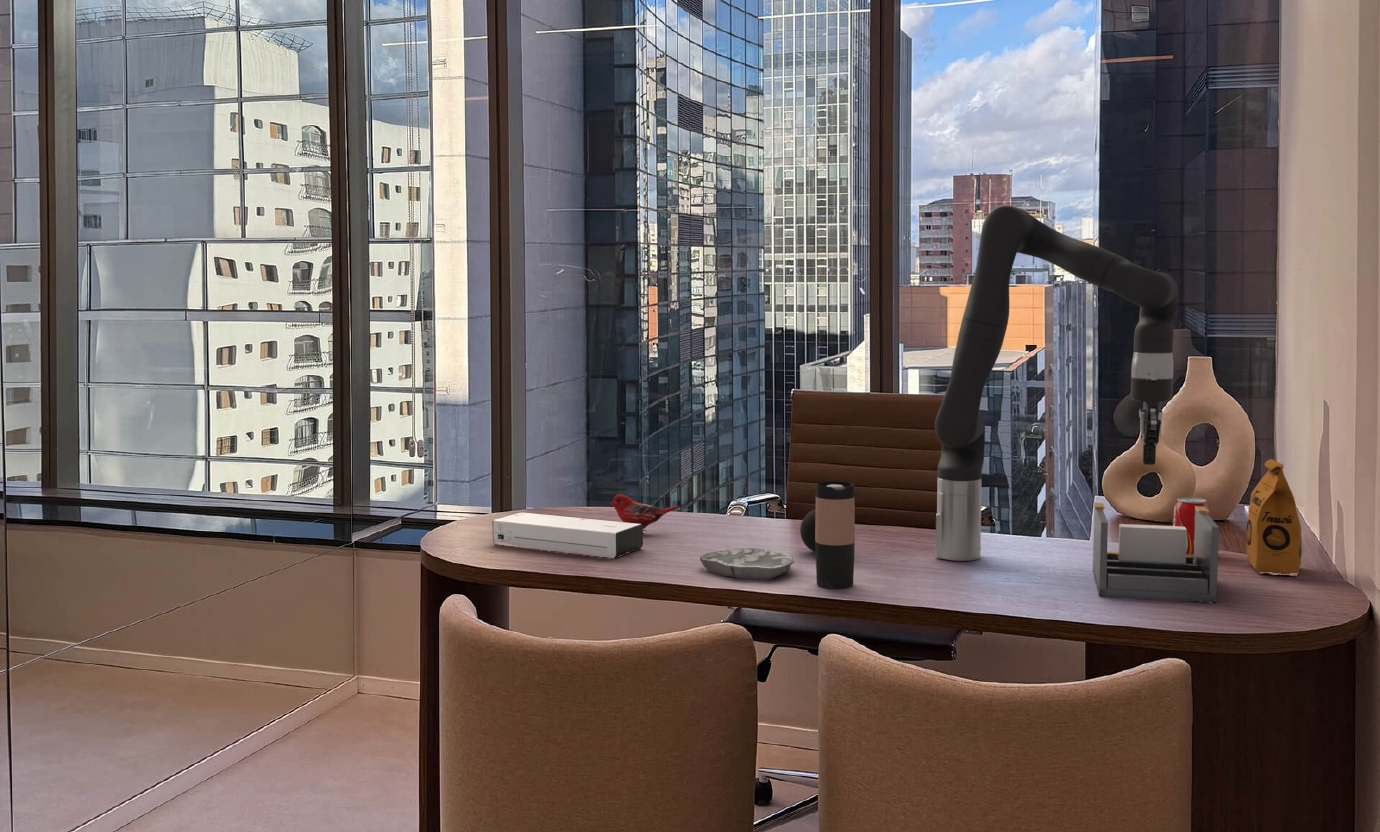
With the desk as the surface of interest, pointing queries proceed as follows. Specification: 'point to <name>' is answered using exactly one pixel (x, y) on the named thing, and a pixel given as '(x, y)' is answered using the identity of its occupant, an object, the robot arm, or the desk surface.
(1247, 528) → the coffee package
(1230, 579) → the desk surface
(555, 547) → the laminator
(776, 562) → the brain slice
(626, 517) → the decorative bird figurine
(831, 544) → the travel mug
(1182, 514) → the soda can
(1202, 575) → the rack
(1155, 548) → the panel
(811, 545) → the speaker
